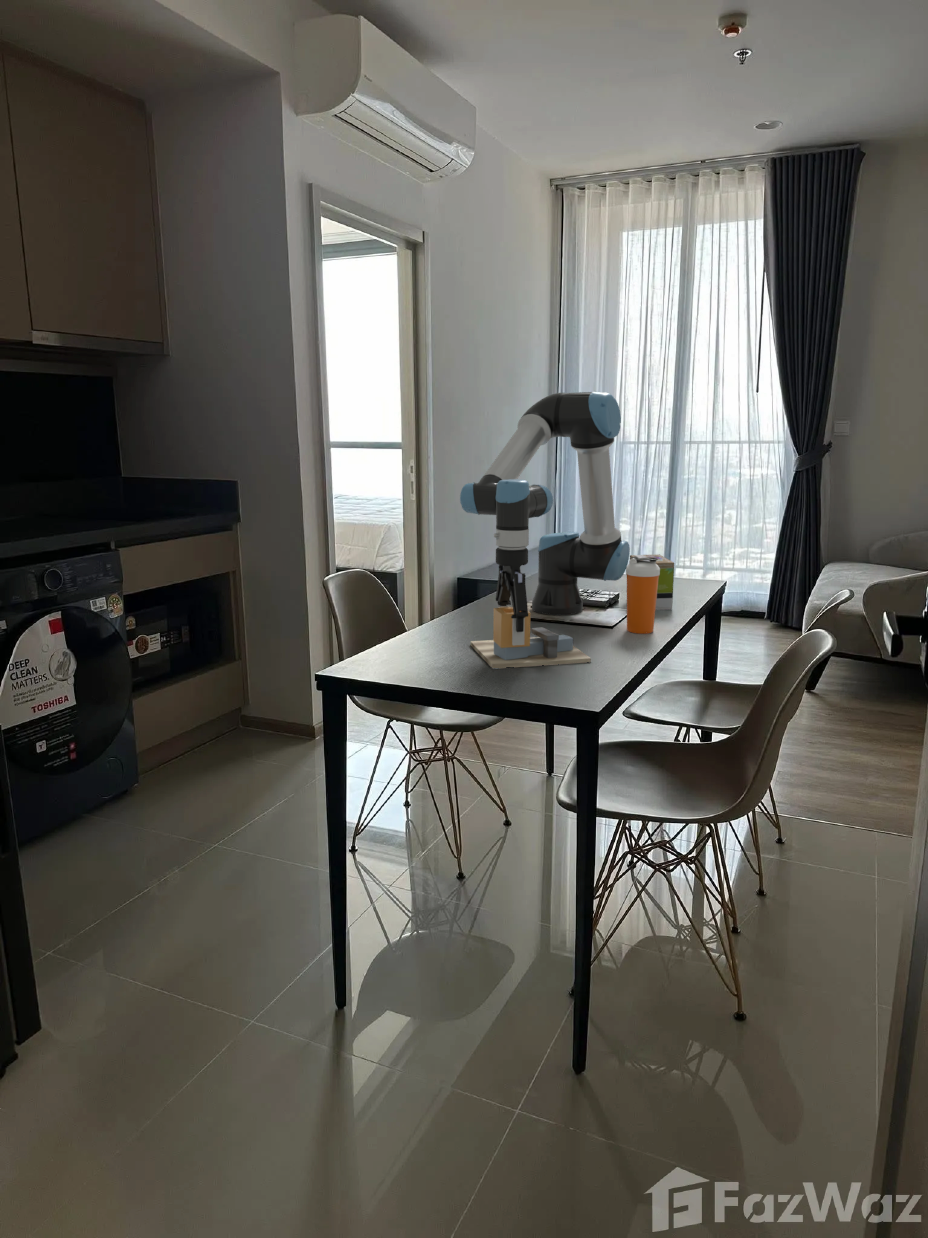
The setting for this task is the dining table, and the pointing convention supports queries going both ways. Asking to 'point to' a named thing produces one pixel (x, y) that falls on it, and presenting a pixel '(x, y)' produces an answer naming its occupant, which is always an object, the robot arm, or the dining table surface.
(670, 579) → the tea box
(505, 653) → the link
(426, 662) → the dining table surface
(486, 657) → the pintle base
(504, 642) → the collar
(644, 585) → the shaker bottle
